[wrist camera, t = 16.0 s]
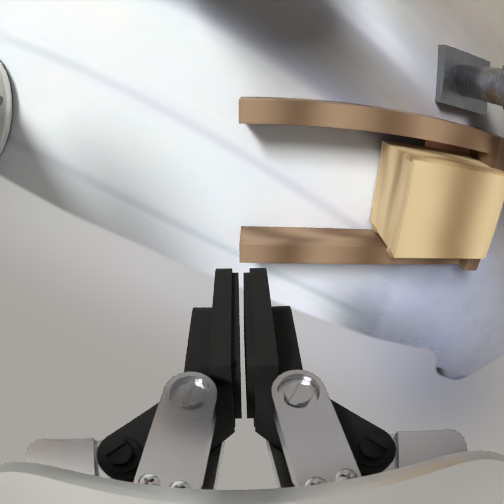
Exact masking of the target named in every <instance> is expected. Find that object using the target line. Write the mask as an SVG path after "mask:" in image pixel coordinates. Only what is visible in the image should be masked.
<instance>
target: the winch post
mask: <svg viewBox="0 0 504 504" xmlns="http://www.w3.org/2000/svg"><path fill="white" fill-rule="evenodd" d="M435 101H436V102H440V103H444V104H448V105H451V106H455V107H459V108H462V109H466V110H469V111H472V112H476V113H479V114H482V115H486V107H487V102H489V103H492V104H496V105H499V106H503V109H504V65H503V67H502V69H500V68H492V67H490V62H489V61H486V60H484V59H482V58H479V57H477V56H474V55H472V54H469V53H467V52H464V51H461V50H459V49H456V48H453V47H450V46H447V45H439V53H438V73H437V87H436V99H435Z"/></svg>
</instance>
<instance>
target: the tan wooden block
mask: <svg viewBox="0 0 504 504" xmlns="http://www.w3.org/2000/svg"><path fill="white" fill-rule="evenodd" d="M503 202H504V172H503V171H502V170H499V169H494V168H491V167H490V166H488V165H486V164H484V163H483V162H481V161H479V160H477V159H475V158H474V157H472V156H470V155H467V154H462V153H457V152H452V151H447V150H442V149H437V148H431V147H425V146H419V145H413V144H407V143H400V142H393V141H385V140H382V143H381V151H380V159H379V166H378V173H377V179H376V186H375V192H374V198H373V204H372V210H371V215H370V221H371V223H372V229H373V230H374V232H375V233H379V235H380V236H381V238H382V239H383V241H384V242H385V244H386V246H387V249H386V251H387V252H388V254H389V255H390V257H394V258H462V259H485V257H486V254H487V252H488V249H489V246H490V243H491V240H492V237H493V235H494V232H495V228H496V225H497V222H498V219H499V216H500V212H501V209H502V205H503Z"/></svg>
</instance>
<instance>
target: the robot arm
mask: <svg viewBox="0 0 504 504" xmlns="http://www.w3.org/2000/svg"><path fill="white" fill-rule="evenodd" d="M11 119H12V94H11V88H10V82H9V79H8V76H7V73H6V71H5V69H4V67H3V65H2V64H1V62H0V154H1V152H2V150H3V148H4V146H5V144H6V141H7V138H8V134H9V131H10V125H11ZM213 295H214V296H213V306H212V308H193V311H192V317H191V324H190V332H189V339H188V346H187V354H186V361H185V370H184V373H180V374H178V375H176V376H174V377H172V378H171V379H170V380H169V381H168V382H167V384H166V386H165V387H164V390H163V393H162V396H161V399H160V401H159V403H157V404H156V405H154V406H153V407H152V408H150V409H149V410H147V411H146V412H144V413H143V414H141V415H140V416H138V417H137V418H135V419H134V420H132V421H131V422H129V423H128V424H126V425H124V426H123V427H121V428H120V429H118V430H117V431H115V432H114V433H112V434H111V435H109V436H107V437H106V438H105V439H104V440H98V441H95V440H94V439H93V438H84V439H37V440H35V441H34V442H32V443H31V444H30V445H29V447H28V448H27V452H26V460H25V462H10V463H4V464H0V504H504V456H503V455H501V454H499V453H496V452H491V451H481V450H477V451H467V444H466V441H465V438H464V437H463V436H462V435H461V434H460V433H459V432H457V431H456V430H450V429H446V430H428V431H398V432H397V433H396V434H388V433H387V432H385V431H384V430H382V429H380V428H379V427H377V426H375V425H374V424H372V423H370V422H368V421H367V420H365V419H363V418H361V417H360V416H358V415H356V414H354V413H353V412H351V411H349V410H348V409H346V408H344V407H342V406H341V405H339V404H338V403H336V402H334V401H333V400H331V399H330V398H329V395H328V393H327V390H326V388H325V386H324V384H323V382H322V381H321V379H320V378H319V377H317V376H316V375H315V374H313V373H311V372H309V371H305V370H303V369H302V363H301V358H300V353H299V348H298V342H297V337H296V332H295V327H294V322H293V317H292V311H291V308H290V306H277V307H271V300H270V292H269V285H268V277H267V270H266V268H250V273H244V342H245V343H244V345H245V374H246V398H247V418H254V426H255V431H256V432H257V433H258V434H260V435H261V436H262V437H264V438H265V439H266V443H267V447H268V451H269V455H270V459H271V462H272V466H273V470H274V474H275V478H276V481H277V485H278V488H276V489H257V490H216V487H217V480H218V475H219V470H220V465H221V458H222V454H223V448H224V440H226V438H228V437H229V436H230V435H232V434H233V433H234V432H235V430H234V427H235V418H242V414H241V413H242V412H241V373H240V326H239V279H238V273H232V269H216V271H215V282H214V294H213Z"/></svg>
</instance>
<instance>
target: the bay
mask: <svg viewBox="0 0 504 504" xmlns="http://www.w3.org/2000/svg"><path fill="white" fill-rule="evenodd" d="M239 123H247V124H286V125H306V126H320V127H333V128H344V129H354V130H363V131H371V132H379V133H386V134H393V135H400V136H407V137H413V138H419V139H424V140H425V147H431V148H437V149H442V150H447V151H452V152H457V153H462V154H467V155H470V156H472V157H474V158H475V159H477V160H479V161H481V162H483V163H484V164H486V165H488V166H490V167H491V168H494V169H499V170H502V171H503V172H504V138H502V137H499V136H497V135H495V134H492V133H490V132H487V131H485V130H481V129H478V128H474V127H471V126H467V125H463V124H459V123H455V122H451V121H447V120H443V119H439V118H434V117H430V116H425V115H420V114H415V113H410V112H405V111H399V110H393V109H387V108H381V107H374V106H367V105H360V104H352V103H343V102H334V101H323V100H311V99H296V98H275V97H241V98H240V99H239ZM239 246H240V262H245V263H315V264H459V265H460V266H461V267H462V268H463V270H477V267H478V264H479V262H480V259H462V258H394V257H390V255H389V254H388V252H387V251H386V249H387V246H386V244H385V242H384V241H383V239H382V238H381V236H380V235H379V233H375V232H374V230H363V229H334V228H298V227H246V226H241V234H240V244H239Z"/></svg>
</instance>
